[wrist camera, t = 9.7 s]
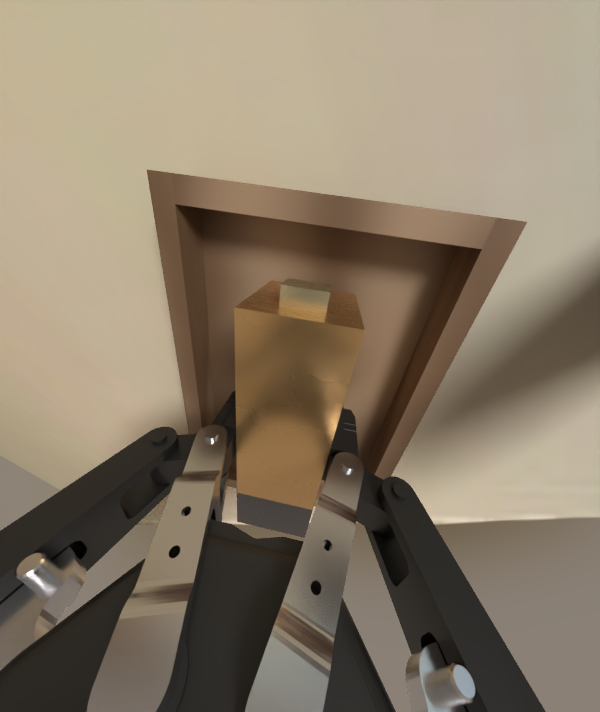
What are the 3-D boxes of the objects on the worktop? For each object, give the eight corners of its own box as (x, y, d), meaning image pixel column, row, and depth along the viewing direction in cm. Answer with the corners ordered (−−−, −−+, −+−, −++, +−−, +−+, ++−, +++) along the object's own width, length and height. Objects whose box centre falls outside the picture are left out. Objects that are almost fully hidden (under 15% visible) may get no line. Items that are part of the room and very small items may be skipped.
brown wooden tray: (211, 453, 21) (196, 478, 19) (184, 181, 11) (146, 169, 9) (364, 487, 20) (367, 518, 18) (486, 223, 10) (527, 222, 8)
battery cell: (260, 455, 17) (237, 521, 13) (272, 264, 11) (233, 283, 7) (312, 467, 17) (304, 537, 13) (359, 278, 10) (371, 307, 6)
